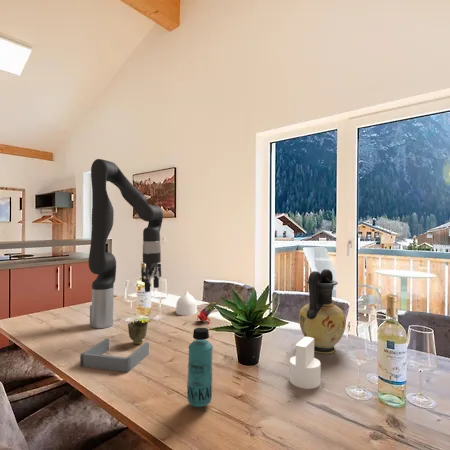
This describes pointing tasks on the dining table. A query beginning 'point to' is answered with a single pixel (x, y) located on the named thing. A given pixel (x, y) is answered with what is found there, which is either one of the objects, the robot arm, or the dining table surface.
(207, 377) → the beverage bottle
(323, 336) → the amphora
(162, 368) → the dining table surface
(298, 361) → the cylinder with rectangular tab
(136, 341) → the cup
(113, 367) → the box
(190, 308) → the teardrop
